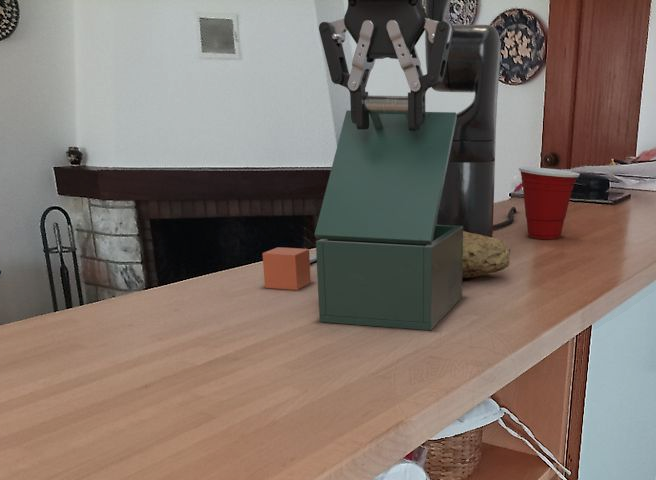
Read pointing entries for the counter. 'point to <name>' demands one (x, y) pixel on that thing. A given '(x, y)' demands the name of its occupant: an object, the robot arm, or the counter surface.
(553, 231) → the plastic cup
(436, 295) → the box
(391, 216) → the lid
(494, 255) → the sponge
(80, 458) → the counter surface
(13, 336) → the counter surface
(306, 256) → the block
